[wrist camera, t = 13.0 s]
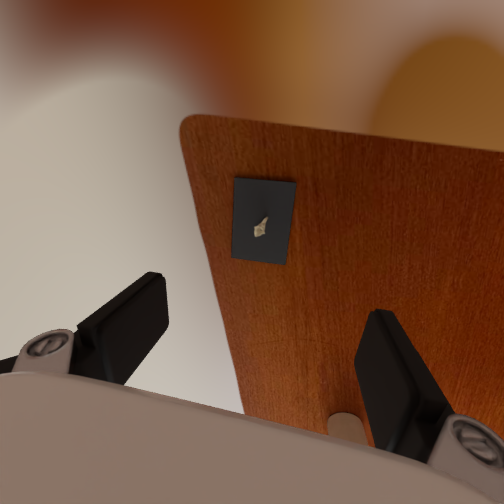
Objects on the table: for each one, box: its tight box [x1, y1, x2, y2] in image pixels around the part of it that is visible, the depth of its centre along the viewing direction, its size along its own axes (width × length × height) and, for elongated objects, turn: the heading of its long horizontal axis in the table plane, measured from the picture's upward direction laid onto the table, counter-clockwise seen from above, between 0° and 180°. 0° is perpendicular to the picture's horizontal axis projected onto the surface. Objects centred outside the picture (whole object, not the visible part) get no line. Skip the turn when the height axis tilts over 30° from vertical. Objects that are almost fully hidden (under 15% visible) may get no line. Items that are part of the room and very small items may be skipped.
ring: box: [254, 217, 268, 237], centre depth 26 cm, size 1×3×3 cm, turn 149°
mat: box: [231, 177, 296, 265], centre depth 28 cm, size 10×7×1 cm
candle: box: [327, 413, 368, 446], centre depth 34 cm, size 6×6×10 cm
